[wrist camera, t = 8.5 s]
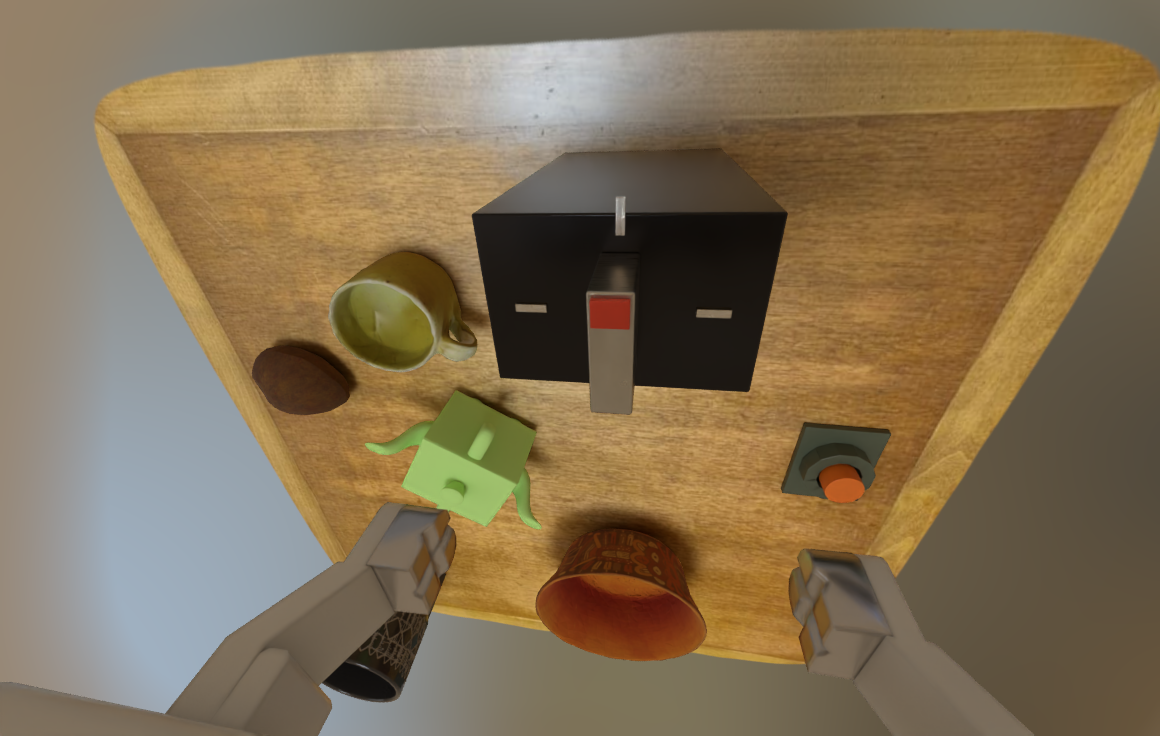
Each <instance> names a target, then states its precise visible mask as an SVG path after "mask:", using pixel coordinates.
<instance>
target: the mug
mask: <svg viewBox="0 0 1160 736" xmlns="http://www.w3.org/2000/svg"><path fill="white" fill-rule="evenodd" d="M328 317H329V321H330V324H331V326H332V330H333V333H334V335H335V336H336V338H337V339H338V340H339V341H340V343H341V344H342V345H343V346H344V347H345V348H346V349H347V350H348V351H349V352H350V353H351V354H352V355H354V356H355V357H356V358H358V359H360V360H361V361H363V362H365V363H367V364H369V365H370V366H373V367H376V368H379V369H383V370H387V371H394V372H406V371H410V370H415V369H417V368H419V367H421V366H423V365H424V364H425V363H426V362H427V361H428V360H429V359H430V358H431V357H433V356H434V355H435V354H436V353H439V354H441V355H443V356H444V357H446V358H447V359H450V360H453V361H456V362H458V361H463V360H467V359H468V358H470V357H472V356H473V355H474V354H475V353H476V350H477V339H476V337H475V335H474V333H473V332H472V331H471V330H470V328H469V327H468V326H467V325H466V324H465V323H464V322H463V321H462V319H461V310H460V306H459V303H458V298H457V294H456V292H455V290H454V286H453V283H452V281H451V279H450V277H449V276H448V275H447V273H446V272H445V271H444V270H443V269H442V268H441V267H440V266H439V265H437V264H436V263H434V262H432V261H431V260H429V259H428V258H426V257H424V256H421V255H418V254H415V253H411V252H398V253H393V254H390V255H387V256H385V257H383V258H381V259H380V260H378V261H376V262H374V263H373V264H372V265H370V266H368V267H367V268H365V269H363V270H361V271H360V272H358V273H357V274H356V275H355V276H354V277H352V278H351V279H350V280H349V281H347V282H346V283H345V284H343V285H342V286H341V287H339V288H338V290H337V291H336V292H335V293H334V294H333V296H332V299H331V302H330V305H329V315H328ZM449 330H450V331H451V332H452V333H453V334H454V336H455V337H456V339H457V340H458V341H459V342H458V341H455V340H453V339H452V338H450V335H449Z"/></svg>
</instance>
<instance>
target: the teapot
mask: <svg viewBox="0 0 1160 736" xmlns="http://www.w3.org/2000/svg"><path fill="white" fill-rule="evenodd" d="M536 433H537V432H536V431H534V430H532V429H530V428H528V427H526V426H524V425H523V424H521V422H520V421H519V420H517V419H514V418H509V417H507V416H505V415H503V414H501V413H499V412H497V411H496V410H494V409H492V408H490V407H488V406H486V405H484V404H482V402H481V401H480V400H478V399H476V398H470V397H468V396H466V395H465V394H463V393H461V392H459V391H457V390H456V391H455V392H454V394H453V395H452V397H451V398H450V399H449V401H448V402H447V404H446V405H445V407H444V408H443V410H442V411H441V413H440V414H439V416H438V417H437V419H436V420H435V421H424V422H421V423H418V424H416V425H414V426H412V427H411V428H409V429H408V430H407V431H405V432H404V433H403V434H401V435H400V436H399V437H397V438H395V439H394V440H391V441H389V442H385V443H366V444H365V446H366V447H367V448H368V449H370V450H371V451H373V452H376V453H378V454H382V455H391V454H395V453H398V452H400V451H401V450H403V449H405V448H407V447H409V446H412V445H420V447H419V449H418V451H417V453H416V455H415V458H414V460H413V462H412V464H411V466H410V468H409V471H408V473H407V475H406V477H405V479H404V482H403V484H402V487H403V488H405V489H407V490H409V491H411V492H413V493H415V494H417V495H419V496H421V497H423V498H425V499H428V500H430V501H432V502H434V503H436V504H438V505H437V508H438V509H446V510H448V512H449V511H450V510H451V511H453V512H455V513H457V514H459V515H462V516H464V517H466V518H468V519H470V520H472V521H475V522H477V523H479V524H481V525H483V526H486V527H487V526H488V524H489V523H490V522H491V520H492V519H493V517H494V516H495V515H496V513H497V512H498V511H499V509H500V508H501V507H502V505H503V504H504V502H505V501H506V500H507V498H508V497H509V496H510V494H511V493H512V492H513V493H514V495H515V497H516V502H517V510H518V514H519V516H520V518H521V519H522V521H523V522H524V523H525V524H527V525H528V526H530V527H532V528H535V529H541V528H542V527H541V525H540V524H539V523H538V521H537V520H536V519H535V518H534V516H533V514H532V512H531V508H530V478H529V475H528V472H527V471H526V469H525V467H524V466H525V463H526V461H527V458H528V455H529V452H530V450H531V447H532V444H533V441H534V439H535V436H536Z"/></svg>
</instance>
